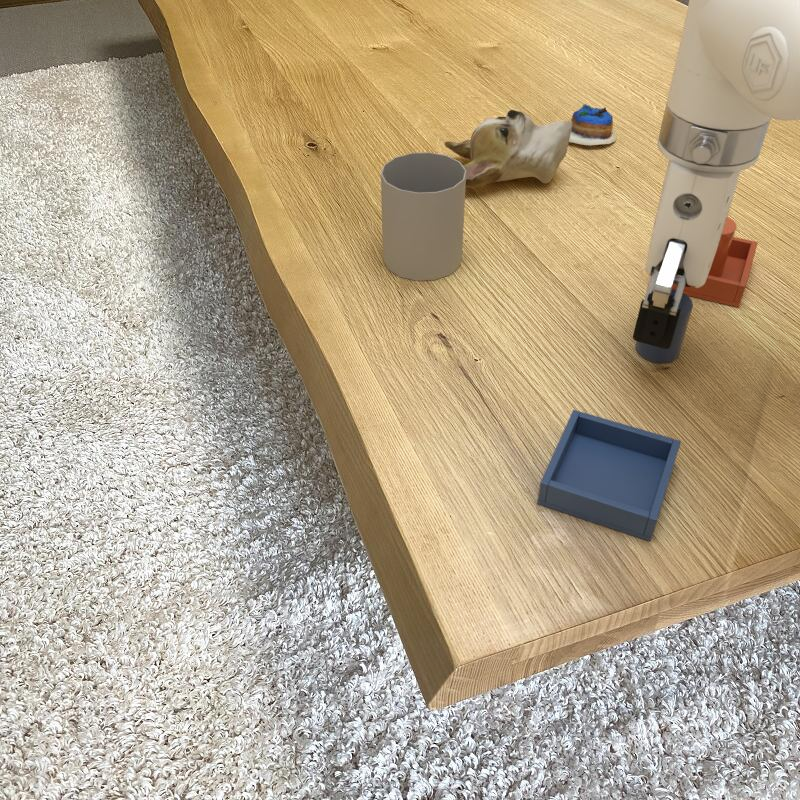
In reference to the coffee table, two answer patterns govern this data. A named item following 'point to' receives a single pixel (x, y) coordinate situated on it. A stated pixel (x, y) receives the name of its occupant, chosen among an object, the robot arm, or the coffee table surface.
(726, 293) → the terracotta tray
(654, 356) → the blue peg
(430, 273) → the cup
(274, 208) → the coffee table surface
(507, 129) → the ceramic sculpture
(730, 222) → the terracotta peg
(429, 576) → the coffee table surface
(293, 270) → the coffee table surface
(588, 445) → the blue tray
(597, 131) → the dessert
